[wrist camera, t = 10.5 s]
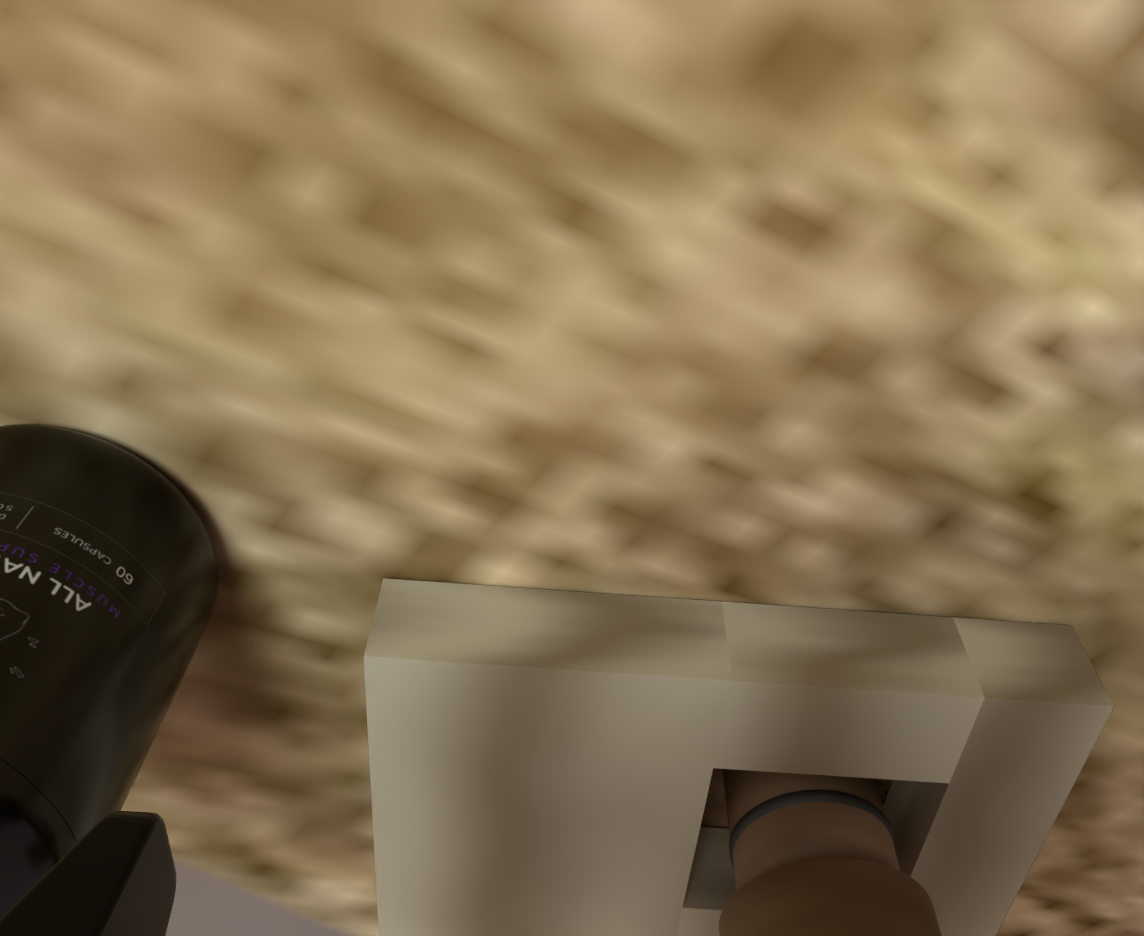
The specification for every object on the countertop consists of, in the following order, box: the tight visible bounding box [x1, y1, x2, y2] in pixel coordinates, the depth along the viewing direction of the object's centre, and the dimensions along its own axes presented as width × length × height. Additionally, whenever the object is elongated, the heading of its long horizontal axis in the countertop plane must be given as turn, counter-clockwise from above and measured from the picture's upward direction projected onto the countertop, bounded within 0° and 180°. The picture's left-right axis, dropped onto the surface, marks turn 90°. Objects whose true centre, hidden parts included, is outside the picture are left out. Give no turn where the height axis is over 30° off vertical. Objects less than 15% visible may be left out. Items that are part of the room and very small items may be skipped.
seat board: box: [364, 578, 1114, 936], centre depth 27 cm, size 16×11×2 cm
